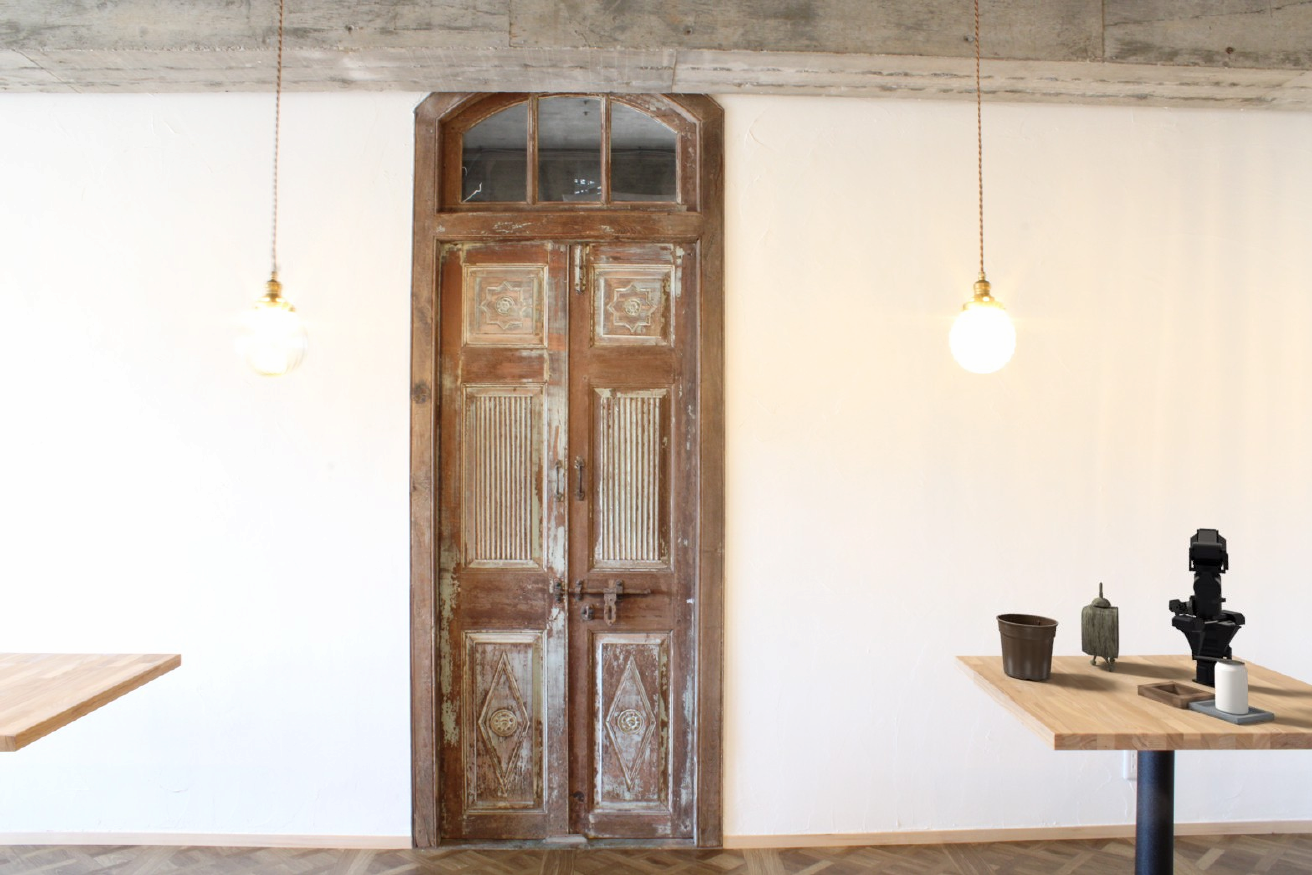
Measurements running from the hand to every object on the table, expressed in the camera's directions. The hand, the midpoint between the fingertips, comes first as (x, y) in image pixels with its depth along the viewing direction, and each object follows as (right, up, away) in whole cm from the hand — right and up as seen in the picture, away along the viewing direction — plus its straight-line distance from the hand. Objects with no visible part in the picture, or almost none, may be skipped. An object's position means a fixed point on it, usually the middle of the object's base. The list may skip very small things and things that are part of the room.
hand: (1209, 653), depth 197 cm
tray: (-1, -12, -9) cm, 15 cm away
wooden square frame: (-7, -13, +2) cm, 14 cm away
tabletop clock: (-8, -14, +34) cm, 37 cm away
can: (-1, -12, -9) cm, 15 cm away
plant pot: (-35, -13, +25) cm, 45 cm away
